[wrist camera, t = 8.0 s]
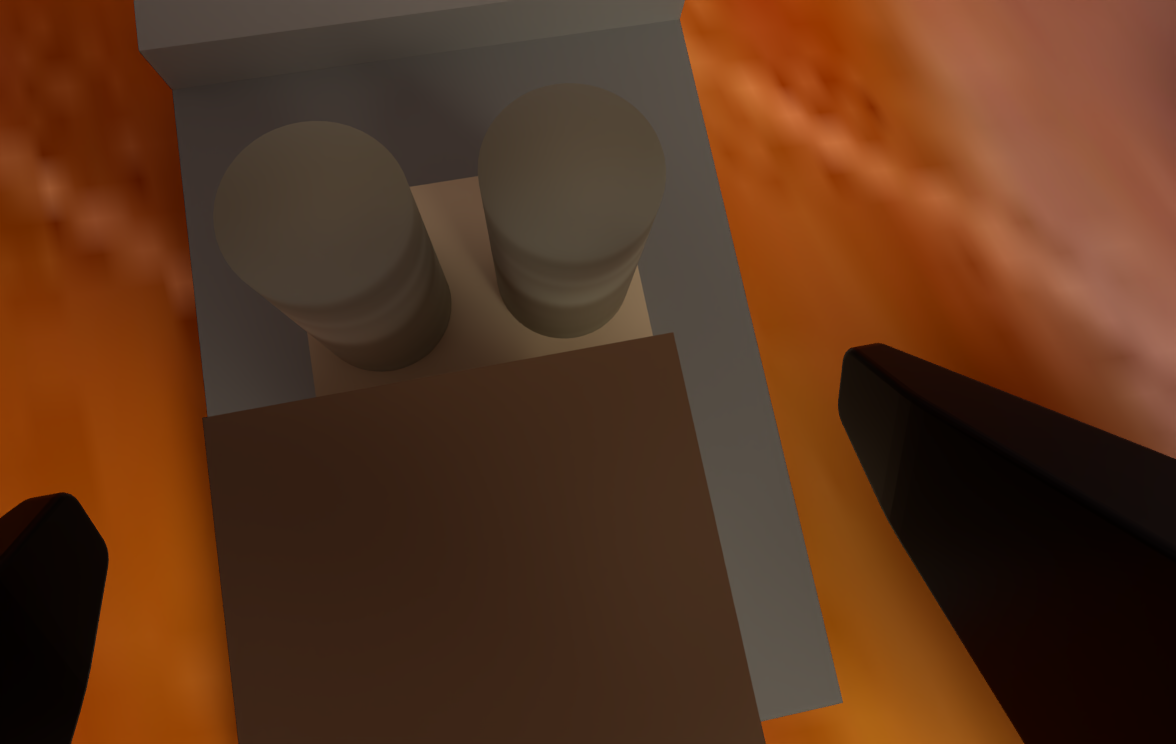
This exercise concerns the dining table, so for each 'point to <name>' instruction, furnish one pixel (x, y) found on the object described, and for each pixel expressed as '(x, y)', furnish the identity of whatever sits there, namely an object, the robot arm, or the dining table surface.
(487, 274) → the condiment caddy
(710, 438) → the grey tray
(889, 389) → the robot arm
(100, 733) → the dining table surface
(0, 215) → the dining table surface
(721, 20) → the dining table surface
